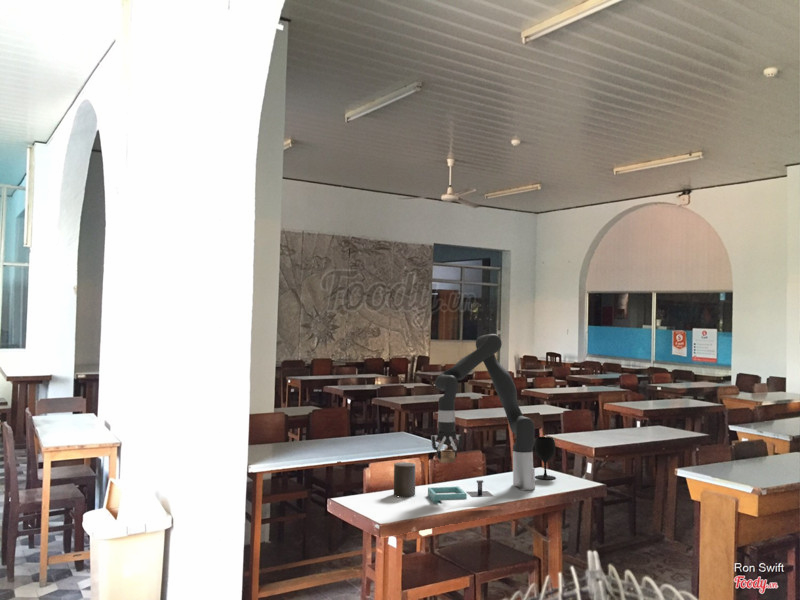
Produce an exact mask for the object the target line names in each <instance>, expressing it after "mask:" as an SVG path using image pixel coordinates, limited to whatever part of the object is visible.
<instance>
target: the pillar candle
mask: <svg viewBox="0 0 800 600" xmlns="http://www.w3.org/2000/svg"><path fill="white" fill-rule="evenodd" d="M416 465H417V464H416V463H414V462H407V461H401V462H395V463H394V465H393V467H394V468H393V496H394V495H396V496H395V497H397V496H399V497H398V498H412V497H411V496H413V497H414V495H415V496H416Z"/></svg>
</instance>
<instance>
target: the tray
mask: <svg viewBox="0 0 800 600" xmlns="http://www.w3.org/2000/svg"><path fill="white" fill-rule="evenodd" d="M455 492H456V493H455ZM467 495H468V493H467V492H465V491H464V490H463V488H461V487H459V486H438V487H435V486H433V487H427V497H429V499H430V500H431V501H432V502H433V503H434V504H442V500H464V499H465V500H467Z"/></svg>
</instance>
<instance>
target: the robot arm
mask: <svg viewBox="0 0 800 600" xmlns="http://www.w3.org/2000/svg"><path fill="white" fill-rule="evenodd" d="M502 344H503V342H502V340H501V337H500V336H499V335H498V334H496V333H488V334H484V335H480V336H478V337H477V338H476V340H475V347H476V349H475V350H474V351H472V352H471V353H469V354H467V355H466V356H463V357H462V358H461V359H460V360H458V361H457V362H456V363H455V364H454V365H453V366H452V367H451V368H449V369H447V370H445V371H443V372H441V373H440V374H439V375H438V376H437V377H436V379H435V382H434V385H435V388H436V389H438V390H439V391H442V392H443V391H444V393H443V396H440V397H439V399H438V413H437V434H435V435H430V440H431V448H432V449H433V450H434V451H436V458H437V459H438V461H439V460H441V451H440V450H441V449H442V447H443V445H447V444H448V445H450V446H451V448H452V450H453V451H454V452H455V459H456V458H457V457H458V456H457V455H458V454H457V452H458V450H460V449H461V448H462V441H463V435H461V434H456V412H455V399H456V396H457V393H458V387H459V383H458V381H462V380H463V379H464V378H465V377H466V376H467V375H469V374H470V372H472V371H473V370H474V369H475V368H476V367H478V366H479V365H481V363H484V366H485V368H486V370H487V373H488V375H489V377H490V378H491V381H492V384H493V387H494V389H495V392H496V394H497V396H498V399H499V401H500V403H501V405H502V407H503V409H504V412H505V415H506V419H507V422H508V424H509V428H510V430H511V433H513V434H514V435H516V436H515V437H516V438H515V443H514V444H513V445H512V485H513V487H514V488H516V489H518V490H519V491H531V490H535V489H536V481H535V480H536V478H535V476H536V475H535V468H534V446H535V438H536V436H535V433H536V431H535V430H536V429H535V424H534V421H533V420H532V419H531V418H530V417H527V416H524V415H523V413H522V410H521V408H520V406H519V402H518V392H517V387H516V384H515V382H514V380H513V377H512V376H511V374H510V373H509V371H508V370H507V369H506V368H505V367H504V366H503V365H502V364H501V363H500V362H499V360H498V359H497V357H496V355H495V354H496V353H498V352H499V351H500V350H501V348H502ZM437 439H438V440H439V441H438V444H437V443H436V441H437ZM455 439H456V440H457V444H456V443H455V442H454V440H455Z"/></svg>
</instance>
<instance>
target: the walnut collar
mask: <svg viewBox="0 0 800 600" xmlns="http://www.w3.org/2000/svg"><path fill="white" fill-rule="evenodd" d="M440 451H441V460H439V459H438V462H440V463H441V464H454V463H456V458H455V452H454V451H453V449H442V450H441V449H440Z"/></svg>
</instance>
